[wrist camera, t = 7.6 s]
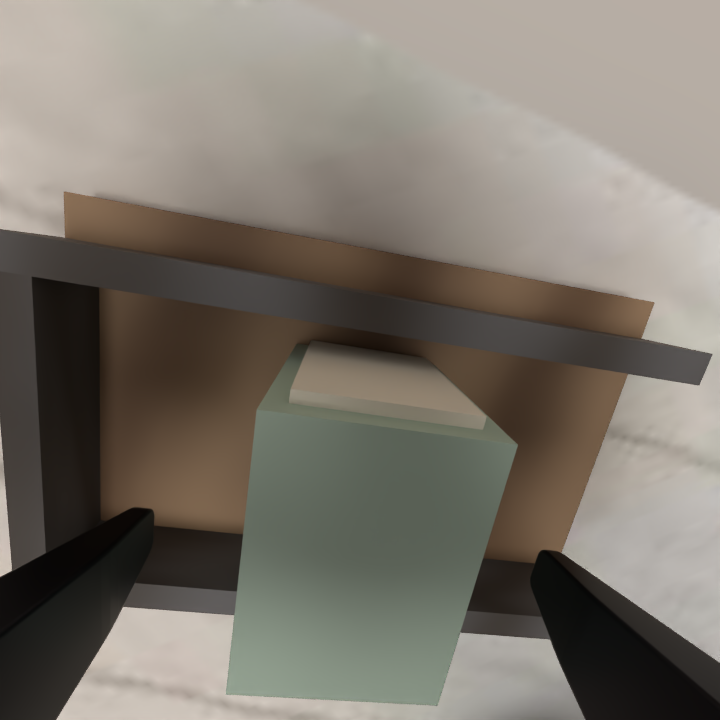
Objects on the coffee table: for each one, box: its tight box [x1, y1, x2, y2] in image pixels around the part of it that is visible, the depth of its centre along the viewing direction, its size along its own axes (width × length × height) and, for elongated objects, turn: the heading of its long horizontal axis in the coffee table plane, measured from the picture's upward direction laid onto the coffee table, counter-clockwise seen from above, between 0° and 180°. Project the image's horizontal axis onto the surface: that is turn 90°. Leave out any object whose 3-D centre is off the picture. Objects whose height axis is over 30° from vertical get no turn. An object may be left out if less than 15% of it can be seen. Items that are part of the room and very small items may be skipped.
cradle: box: [0, 192, 712, 639], centre depth 12 cm, size 20×14×4 cm
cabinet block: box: [226, 340, 518, 706], centre depth 10 cm, size 5×7×6 cm
